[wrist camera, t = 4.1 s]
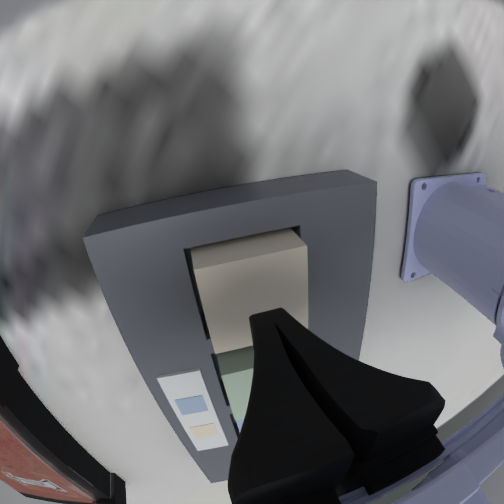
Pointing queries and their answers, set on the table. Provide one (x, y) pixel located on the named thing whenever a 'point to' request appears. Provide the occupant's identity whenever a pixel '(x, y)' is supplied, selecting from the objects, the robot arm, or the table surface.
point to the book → (46, 449)
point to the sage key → (237, 378)
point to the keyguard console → (188, 298)
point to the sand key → (250, 283)
